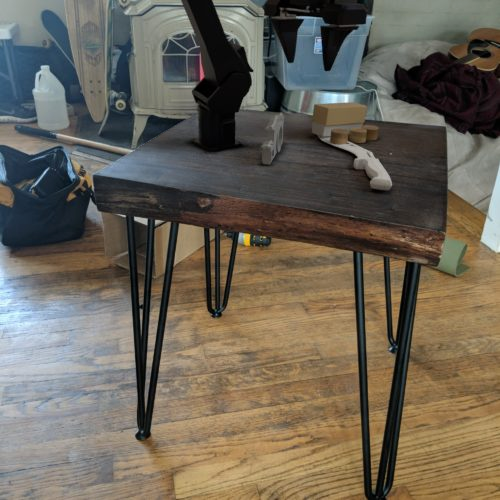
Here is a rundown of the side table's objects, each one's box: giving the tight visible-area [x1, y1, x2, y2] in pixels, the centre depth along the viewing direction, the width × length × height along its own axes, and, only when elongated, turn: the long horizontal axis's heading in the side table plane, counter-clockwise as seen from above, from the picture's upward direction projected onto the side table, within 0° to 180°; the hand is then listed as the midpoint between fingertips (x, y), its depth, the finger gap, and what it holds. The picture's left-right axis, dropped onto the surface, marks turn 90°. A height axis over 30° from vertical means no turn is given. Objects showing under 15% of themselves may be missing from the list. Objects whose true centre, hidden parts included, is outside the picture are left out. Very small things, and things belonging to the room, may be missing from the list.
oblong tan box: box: [311, 101, 368, 137], centre depth 93 cm, size 4×10×5 cm, turn 127°
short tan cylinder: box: [348, 127, 367, 144], centre depth 91 cm, size 3×3×2 cm
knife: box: [317, 135, 393, 191], centre depth 83 cm, size 30×2×8 cm
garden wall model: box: [260, 112, 286, 166], centre depth 82 cm, size 12×2×6 cm, turn 167°
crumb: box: [362, 124, 380, 141], centre depth 93 cm, size 3×3×2 cm
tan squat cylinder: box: [330, 128, 349, 144], centre depth 88 cm, size 3×3×2 cm
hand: (308, 66), depth 87 cm, fingers open, 9 cm apart
